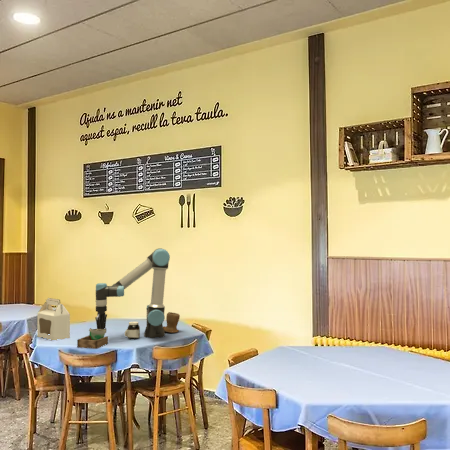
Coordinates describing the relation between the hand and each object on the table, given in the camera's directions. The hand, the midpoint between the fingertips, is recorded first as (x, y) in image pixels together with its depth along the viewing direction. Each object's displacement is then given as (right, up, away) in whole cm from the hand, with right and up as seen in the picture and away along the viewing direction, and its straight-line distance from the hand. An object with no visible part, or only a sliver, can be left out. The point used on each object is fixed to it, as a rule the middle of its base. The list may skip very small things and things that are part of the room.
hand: (101, 339), depth 348 cm
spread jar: (+19, -2, +13) cm, 23 cm away
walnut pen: (-3, -2, -11) cm, 11 cm away
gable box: (-39, -2, +15) cm, 41 cm away
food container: (-2, -1, -6) cm, 7 cm away
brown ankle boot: (+44, -3, +35) cm, 57 cm away
